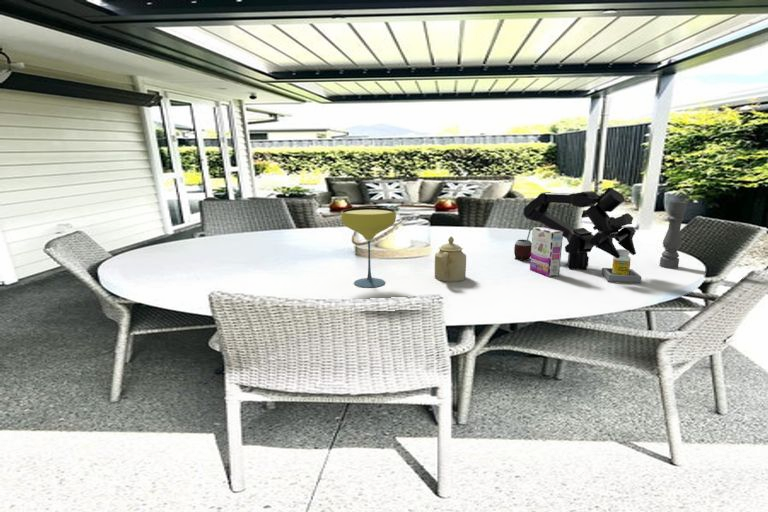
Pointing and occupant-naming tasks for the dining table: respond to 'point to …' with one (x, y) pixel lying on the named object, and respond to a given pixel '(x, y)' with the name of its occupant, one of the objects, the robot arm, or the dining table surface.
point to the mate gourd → (523, 248)
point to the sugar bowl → (450, 262)
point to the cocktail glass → (368, 232)
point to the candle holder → (673, 235)
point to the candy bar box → (546, 251)
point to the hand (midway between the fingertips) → (626, 256)
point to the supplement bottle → (621, 263)
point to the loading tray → (621, 276)
